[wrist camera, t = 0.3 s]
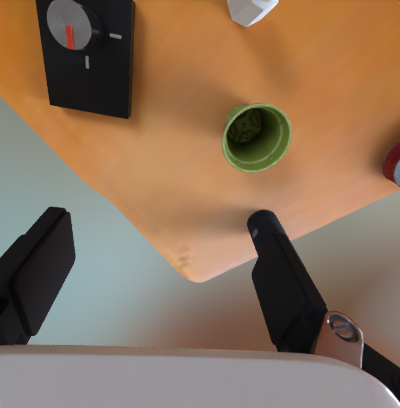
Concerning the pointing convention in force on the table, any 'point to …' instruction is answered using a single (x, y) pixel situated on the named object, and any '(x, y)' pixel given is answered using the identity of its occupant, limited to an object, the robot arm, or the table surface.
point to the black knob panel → (92, 62)
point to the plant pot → (256, 137)
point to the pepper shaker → (249, 10)
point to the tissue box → (392, 164)
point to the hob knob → (74, 25)
